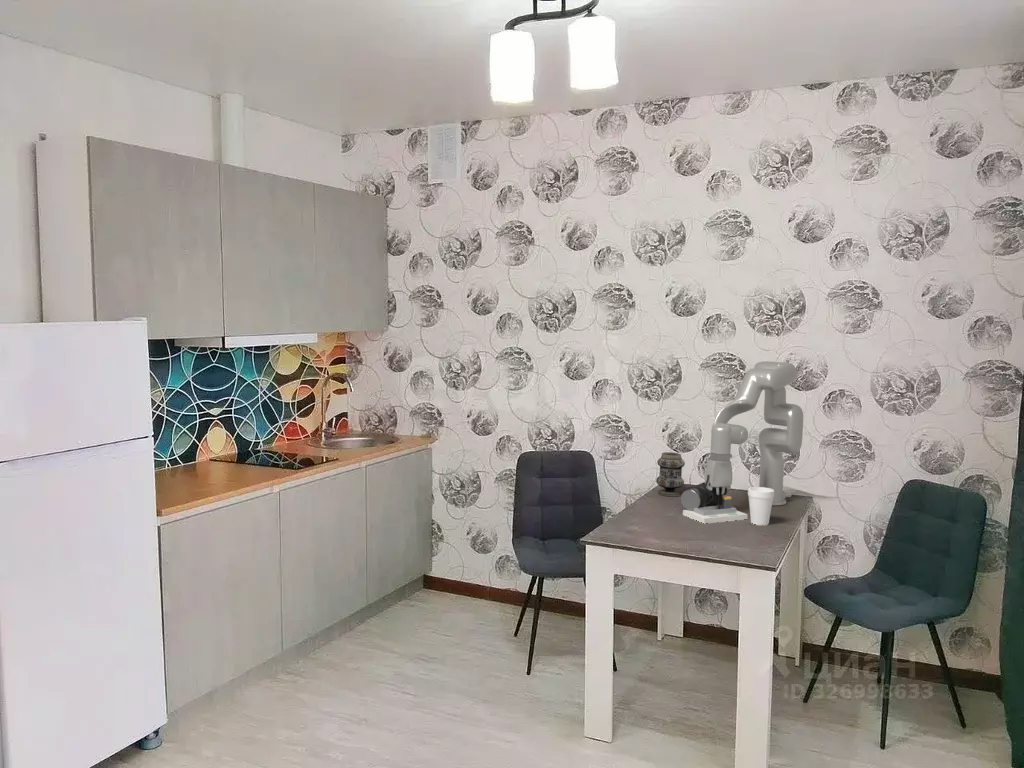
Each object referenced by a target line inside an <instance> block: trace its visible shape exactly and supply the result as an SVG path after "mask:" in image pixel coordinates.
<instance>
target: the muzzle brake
mask: <svg viewBox="0 0 1024 768" xmlns="http://www.w3.org/2000/svg"><path fill="white" fill-rule="evenodd" d="M706 487H707V485H705V481H704V482H701V483H699V484H695V485H692V486H689V487H687V488H685V489H684V490H683V491H682V493H681V495H680V496H681V497H680V502H681V505H682V507H683V508H685V510H690V511H693V510H694V508H698V507H709V506H712V505H713V504H714V501H713V500H714V494H713V493H712V491H711V490H708V489H706ZM711 487H712V486H711ZM727 494H728V490H726V491H725V492H724V495H727Z"/></svg>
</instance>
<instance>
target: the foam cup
mask: <svg viewBox="0 0 1024 768" xmlns="http://www.w3.org/2000/svg"><path fill="white" fill-rule="evenodd" d="M747 496H748V506H749V514H750V517H749V518H750V523H751V524H752V523H753V524H752V525H754V524H756V525H755V526H762V525H763V526H769V523H770V518H771V512H772V508H773V505H772V502H773V497H774V490H773V489H770V488H765V487H759V486H752V487H748V488H747Z"/></svg>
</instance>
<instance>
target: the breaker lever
mask: <svg viewBox="0 0 1024 768" xmlns="http://www.w3.org/2000/svg"><path fill="white" fill-rule="evenodd" d="M718 506H719V509H727V508H731V507H732V496H729V495H727V494H726V495H723V497H722V505H718Z"/></svg>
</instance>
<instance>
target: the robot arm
mask: <svg viewBox="0 0 1024 768" xmlns="http://www.w3.org/2000/svg"><path fill="white" fill-rule="evenodd" d="M796 376H797V368H796V366H795V365H794V364H793V363H791V362H781V361H759V362H756V363H755V364H754V368H749V369H748V370H747V371H746V372H745V374H744V376H743V379H742V381H741V383H740V386H739V388H738V391H737V393H736V396H735V398H734V399H733V400H732V401H729V403H727V404H726V405H725V406H724V407H723V408H721V409H720V410H719V411H718V413H717V414H716V417H715V420H714V421H713V423H712V425H711V430H710V431H711V432H710V433H711V434H710V436H711V437H710V454H709V460H708V461H707V464H706V468H705V473H704V474H705V475H704V482H705V485H707V487H706V489H708V490H711V491H712V493H713V494H714V500H713V501H714V503H713V504H714V505H715V506H719V505H722V497H723V495H724V492H725V491H726V490H727V491H728V490H730V489H732V483H733V464H732V461H731V459H732V458H733V454H731V450H732V449H731V448H732V445H733V444H734V445H742V444H745V442H746V441H747V440H748V438H749V432H748V429H747V428H746V427H745V426H743V425H740V424H735V423H734V424H732V423H728V422H730V420H731V419H733V418H734V417H736V416H737V415H740V414H743V413H747V412H749V411H752V410H754V409H755V408H756V407H757V404H758V401H759V399H760V396H761V394H762V391H764V402H763V403H764V404H763V419H764V422H765V423H767V424H769V425H773V426H781V427H786V429H783V428H777V427H766V428H763V429H761V431H760V432H759V433H758V434H759V435H758V444H759V453H760V455H759V456H760V460H759V462H760V465H759V480H758V481H759V482H758V483H759V485H758V487H765V488H770V489H773V490H774V497H773V502H772V506H784V505H786V504H787V500H786V498H791V497H792V492H785V491H784V472H785V460H784V457H783V455H782V453H785V454H797V453H799V452H800V450H801V448H802V445H803V433H804V412H803V409H802V407H801V406H799V405H798V404H795V403H787V390H786V386H789V385H790V384H791V383H793V382H794V380H795V379H796ZM711 486H712V487H711Z"/></svg>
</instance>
